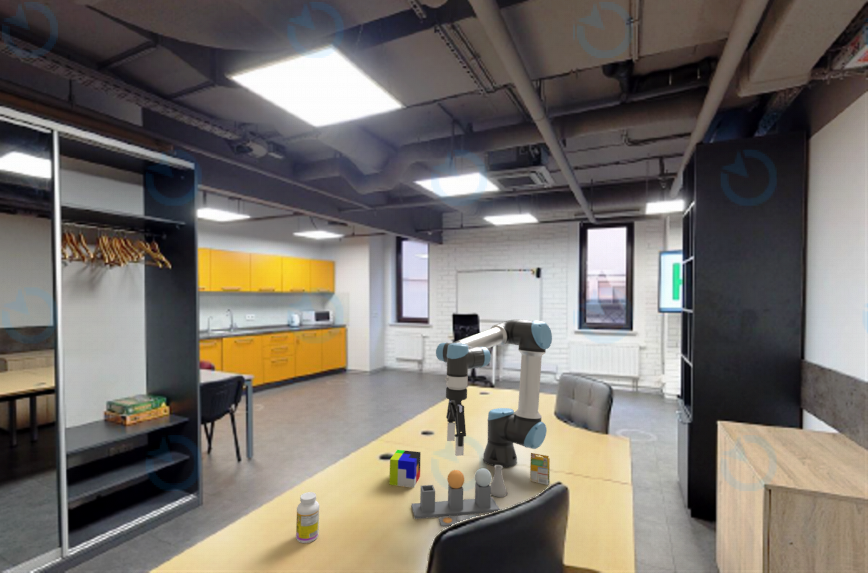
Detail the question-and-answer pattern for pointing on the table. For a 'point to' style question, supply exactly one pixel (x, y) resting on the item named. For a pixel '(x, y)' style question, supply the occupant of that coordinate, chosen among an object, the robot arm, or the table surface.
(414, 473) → the puzzle toy
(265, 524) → the table surface
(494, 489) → the flask
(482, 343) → the robot arm
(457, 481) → the orange ball
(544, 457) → the crayon box
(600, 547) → the table surface
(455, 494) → the ball display stand
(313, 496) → the supplement bottle
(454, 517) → the card
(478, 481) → the light gray ball
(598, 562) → the table surface
